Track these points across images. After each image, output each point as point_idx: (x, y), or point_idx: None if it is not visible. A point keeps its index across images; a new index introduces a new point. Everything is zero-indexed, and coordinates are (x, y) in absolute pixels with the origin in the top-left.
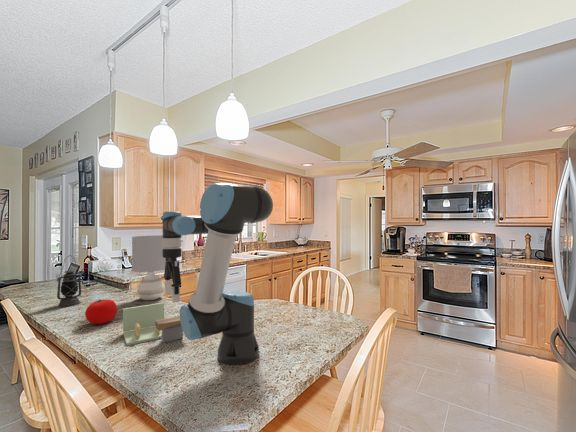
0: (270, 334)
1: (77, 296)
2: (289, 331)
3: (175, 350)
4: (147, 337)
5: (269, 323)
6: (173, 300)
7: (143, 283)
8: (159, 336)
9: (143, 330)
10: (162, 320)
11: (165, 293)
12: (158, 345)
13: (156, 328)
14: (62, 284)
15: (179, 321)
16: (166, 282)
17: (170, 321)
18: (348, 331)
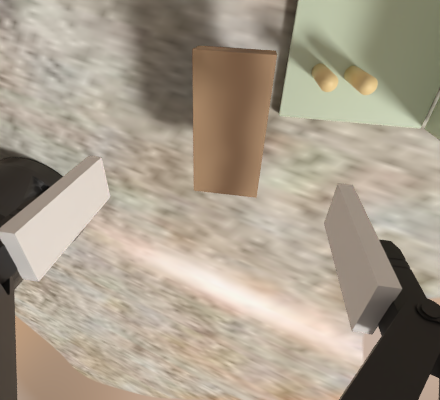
0: (123, 293)
1: None
2: (120, 318)
3: (135, 83)
4: (314, 11)
5: (186, 323)
6: (82, 167)
7: None
8: (287, 66)
9: (437, 15)
10: (246, 88)
11: (342, 192)
12: (215, 41)
13: (352, 72)
14: None
15: (193, 152)
16: (364, 273)
17: (203, 117)
18: (77, 357)
